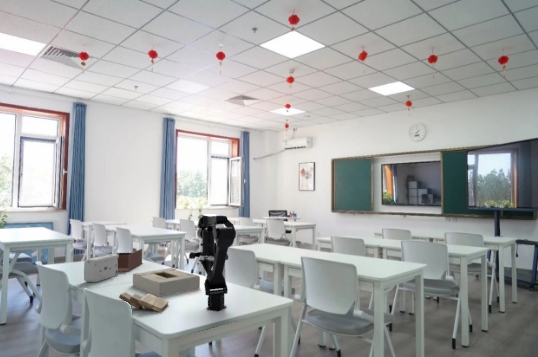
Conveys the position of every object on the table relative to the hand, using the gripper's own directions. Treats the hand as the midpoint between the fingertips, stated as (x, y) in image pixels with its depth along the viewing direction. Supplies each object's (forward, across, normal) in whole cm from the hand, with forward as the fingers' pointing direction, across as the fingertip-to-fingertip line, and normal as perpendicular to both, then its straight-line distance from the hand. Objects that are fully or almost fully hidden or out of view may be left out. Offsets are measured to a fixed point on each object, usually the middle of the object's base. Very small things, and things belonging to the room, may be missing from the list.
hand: (208, 274), depth 170 cm
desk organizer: (+13, +98, -43) cm, 108 cm away
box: (+13, +37, -12) cm, 41 cm away
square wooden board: (+11, +10, +18) cm, 23 cm away
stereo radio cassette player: (+12, +85, -11) cm, 87 cm away
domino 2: (+11, +15, +20) cm, 27 cm away
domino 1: (+11, +20, +22) cm, 32 cm away
